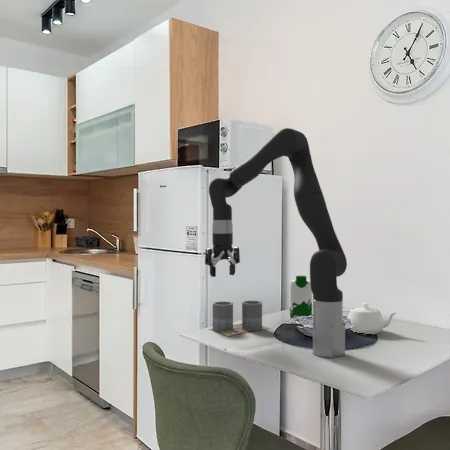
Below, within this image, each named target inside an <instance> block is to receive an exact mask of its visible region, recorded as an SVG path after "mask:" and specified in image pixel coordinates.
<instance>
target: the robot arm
mask: <svg viewBox="0 0 450 450" xmlns="http://www.w3.org/2000/svg"><path fill="white" fill-rule="evenodd" d="M281 157H287V158H288V161H289V162H290V165H291V169H292V171H293V176H294V182H293V198H294V202H295V206H296V207H297V211H298V214H299V216H300V218H301V220H302V221H303V223H304V224H305V225H306V227H307V228H308V230H309V231H310V232H311V234H312V235H313V237H314V239H315V241H316V244H317V247H318V250H317V251H315V252H314V253H313V254H312V256H311V257H310V260H309V261H310V262H309V280H310V286H311V291H312V354H314V356H319V357H323V358H331V359H334V358H338V357H341V356H345V355H346V325H345V324H343V323H344V322H343V318H344V317H343V315H344V314H343V313H344V312H343V310H344V309H343V307H344V305H343V300H344V299H343V298H344V297H343V295H344V294H343V291H342V290H341V289H339V288H338V283H337V279H338V277H341V276H342V275H344V274H345V272H346V270H347V266H348V262H347V257H346V255H345V252H344V250H343V249H344V248H343V247H342V245H341V243H340V241H339V238H338V235H337V234H336V231H335V229H334V225H333V222H332V218H331V216H330V213H329V210H328V207H327V203H326V199H325V196H324V193H323V190H322V188H321V185H320V181H319V179H318V176H317V174H316V173H317V172H316V171H315V167H314V163H313V159H312V155H311V151H310V145H309V141H308V138H307V137H306V135H305V134H304V133H303V132H301V131H298V130H296V129H294V128H291V127H290V128H289V127H286V128H282V129H280V130H279V131H278V132H277V133H276V134H274V135H273V136H272V137H271V138H270V139H269V140H268V141H267V142H266V143H265V144H264V145H263V146H262V147H261V148H259V150H258V151H256V152H255V153H253V155H251V156H250V157H249V158H247V159H246V160H244V161H243V162H242V163H240V164H239V165H236V167H234V168H233V169H232V170H231V171H230V172H229V176H228V177H227V178H222V177H215V178H213V179H212V180H211V181H210V183H209V186H208V195H209V198H210V203H211V207H212V227H211V228H212V233H211V234H212V235H211V236H212V246H213V248H205V251H204V252H205V254H204V256H205V257H204V264H205V265H206V266H209V275H210V277H211V278H212V277H213V278H215V277H217V276H216V275H217V274H216V272H217V267H216V266H217V264H218V263H219V262H220V261H223V260H226V261H227V262H228V263H229V271H228V272H229V274H228V275H230V276H234V275H235V274H236V265H237V264H240V263H241V257H240V255H241V253H240V247H237V246H233V243H234V241H233V240H234V239H233V238H234V236H233V235H234V232H233V227H234V226H233V210H232V208H233V207H232V205H230V204H229V203H227V199H226V198H230V197H233V196H234V195H235V194H237V193H238V192H239V191H240V190H241V189H242V188H243V187H244V186H245V185H246V184H248V183H250V182H251V181H252V180H255V178H257V177H259V175H260V174H261V173H262V172H263V170H264V169H265V168H266V167H267V166H268V165H269V164H270V163H272V162H273V161H275V160H277V159H279V158H281ZM212 255H213V256H212Z"/></svg>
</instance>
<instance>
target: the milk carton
mask: <svg viewBox="0 0 450 450" xmlns="http://www.w3.org/2000/svg"><path fill="white" fill-rule="evenodd" d="M309 315H312V316H313V293H312V291H311V286H310V279H307V276H306V275H296V276H295V279H290V283H289V317H290V319H291V318H293V317H301V316H309Z"/></svg>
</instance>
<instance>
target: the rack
mask: <svg viewBox="0 0 450 450" xmlns="http://www.w3.org/2000/svg"><path fill="white" fill-rule="evenodd" d="M241 305H242V307H241V310H242V311H241V315H242V316H241V323H237V324H234V302H232V301H225V300H223V301H221V300H220V301H214V302H213V303H212V328H208V330H209V331H211V332H213V333H217V334H220V335H223V336H226V337H228V338H229V337H235V336H240V335H245V334H250V333H256V332H260V331H265V330H271V329H272V328H270V327H267V326H263V301H260V300H243V301H242V302H241Z"/></svg>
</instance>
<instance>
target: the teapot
mask: <svg viewBox="0 0 450 450" xmlns="http://www.w3.org/2000/svg"><path fill="white" fill-rule="evenodd" d="M361 305H362V306H355V307H352V308H351V309H343V313H344V312H345V313H346V312H347V313H348V316H347V318H348V319H350V321H351V323H352V325H353V327H352V328H351V329H349V330H352V331H353V333H355V332H357V333H356V334H358V333H365V334H364V335H366V334H372V335H377V334H379V333H380V332H382V331H383V330H384V329H385V328H387V327H389V325H390V324H391V321H392V319H393V317H394V316H395V315H398V312H395V311H394V312H393V311H391V312H390V313H389V315H388V317H387V319H385V320H384V317H383V315H382V313H381V311H380V309H378V308H375V307H369V303H366V302H365V303H364V302H363V303H361ZM352 331H351V332H352Z"/></svg>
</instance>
